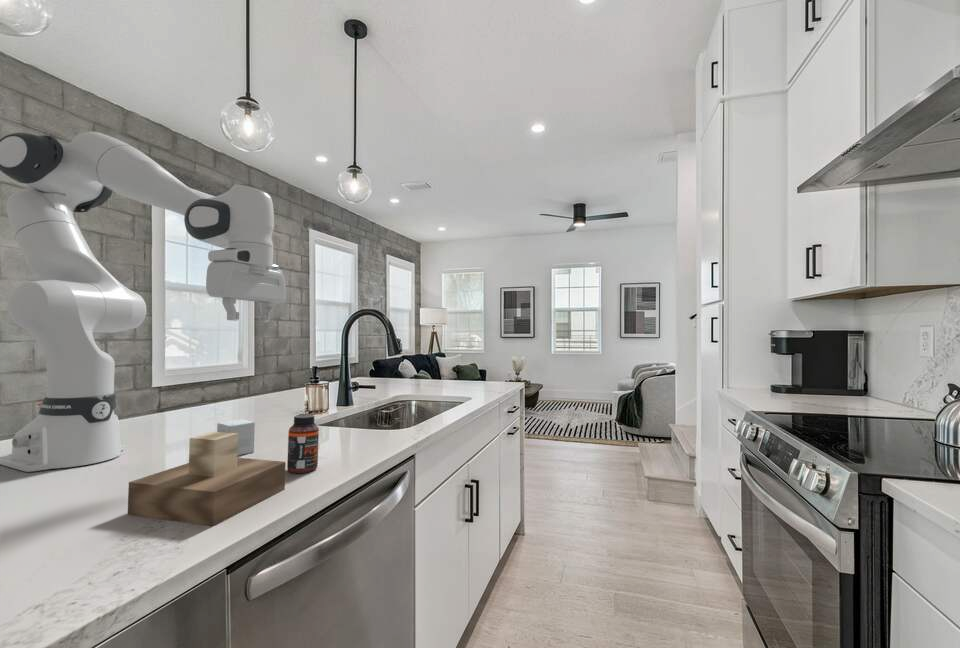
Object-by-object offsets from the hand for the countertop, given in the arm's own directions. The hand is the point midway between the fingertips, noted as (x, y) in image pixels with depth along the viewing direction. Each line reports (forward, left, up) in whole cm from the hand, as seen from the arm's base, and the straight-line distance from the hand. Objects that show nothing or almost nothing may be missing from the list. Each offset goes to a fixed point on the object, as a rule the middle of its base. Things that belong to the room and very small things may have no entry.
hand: (249, 321), depth 97 cm
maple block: (+11, -20, -26) cm, 35 cm away
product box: (-8, +6, -31) cm, 33 cm away
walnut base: (+11, -20, -31) cm, 39 cm away
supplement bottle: (+15, -1, -31) cm, 35 cm away
